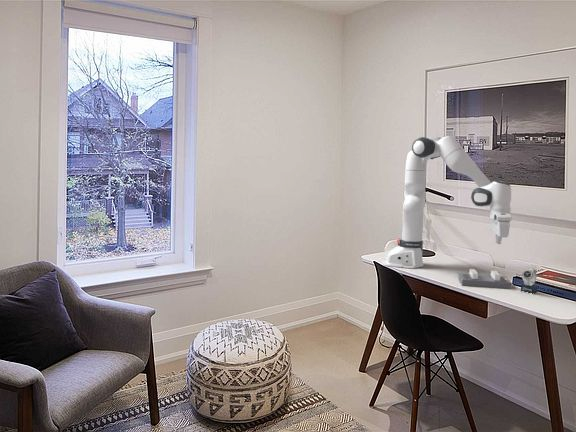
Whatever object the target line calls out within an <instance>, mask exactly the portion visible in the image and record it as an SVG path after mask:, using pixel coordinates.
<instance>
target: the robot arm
mask: <svg viewBox="0 0 576 432" xmlns="http://www.w3.org/2000/svg"><path fill="white" fill-rule="evenodd" d="M437 158H441V159H442V161H443V162H444V163H445V165H446V166H447V167H448V169H450V170H451V171H452V172H455V173H457V174H461V175H464V176H467V177H469V178H470V179H471V180H472V181H473V183H475V185H476V186H478V187H476V188H474V189H473V191H472V192H471V197H470V199H471V202H472V204H473V205H475V206H477V207H481V208H482V207H489V208H490V209H489V212H490V213H489V218H490V219H491V220H490V231H491V232H492V233H493V234H494V235H495V243H496V244H498V245H501V244H502V240H503V238H508V237H509V235H510V226H511V222H512V215H511V210H512V208H511V201H512V186H511V184H510V183H509V182H507V181H505V180H497V179H496V180H493V181H492V180H491V178H489V177H488V175H486V173H485V172H484V171H483V169H481V168H480V167H479V166H478V165H477V163H476V162H475V161H474V160H473V159H472V158H471V157H470V156H469V154H468V153H467V152H466V150H465V149H464V148H463V146H462V145H461V144H460V143H459V142H458V141H457V140H456V139H455V138H454V137H453V136H451V135H447V136H443V137H435V136H422V137H418V138H416V139H415V140H414V141H413V143H412V144H411V150H410V151H408V153H407V156H406V161H405V168H404V169H405V171H404V201H403V204H402V222H401V223H402V229H401V230H402V231H401V238H397V240H396V242H397V245H396V246H395V247H393V248H392V249H391V250H389V251H388V252H387V256H386V258H384V259H383V260H382V265H384V266H385V267H386V266H387V267H393V268H394V267H395V268H402V267H403V268H404V269H417V268H422V267H424V261H423V259H424V258H423V247H424V241H423V232H424V230H423V229H424V211H425V209H424V208H425V204H426V183H427V182H426V179H427V164H428V161H429V160H434V159H437Z"/></svg>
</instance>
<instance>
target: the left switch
mask: <svg viewBox="0 0 576 432" xmlns="http://www.w3.org/2000/svg"><path fill="white" fill-rule="evenodd" d="M468 274H469V275H470V276H471V277H472V279H478V275H479V273H478V272H477V270H476V269H474V268H469V273H468Z"/></svg>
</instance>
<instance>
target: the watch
mask: <svg viewBox="0 0 576 432" xmlns="http://www.w3.org/2000/svg"><path fill="white" fill-rule="evenodd" d="M521 276H522V280H523V284H520V292H522V291H524V292H523V293H526V292H528V293H527V294H530V293H532V294H531V295H534V294H537V293H538V287H539V285H535V283H536V280H537V278H538V276H537V269H536V268H531V267H528V268H526V269H524V270H523V271H522V273H521ZM536 292H537V293H536ZM533 293H534V294H533Z"/></svg>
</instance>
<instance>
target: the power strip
mask: <svg viewBox="0 0 576 432" xmlns="http://www.w3.org/2000/svg"><path fill="white" fill-rule="evenodd" d="M457 277H458V281H459V283H460V284H461V286H462V287H463V286H465V287H478V288H479V287H480V288H489V289H490V288H493V289H504V290H505V289H507V290H511V289H512V284H513V282H512V281H510V279H509V278H508V277H507V276H506V275H504V276H503V275H500V281H495V280H494V279H493V278H492V277H491V274H490V275H489V274H478V279H472V277H471V276H470V275H469V273H458V276H457Z"/></svg>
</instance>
